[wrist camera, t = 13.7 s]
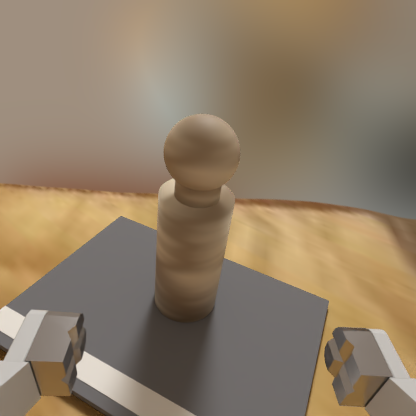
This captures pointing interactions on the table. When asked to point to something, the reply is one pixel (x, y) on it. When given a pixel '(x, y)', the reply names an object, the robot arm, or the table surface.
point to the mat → (177, 334)
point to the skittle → (194, 216)
